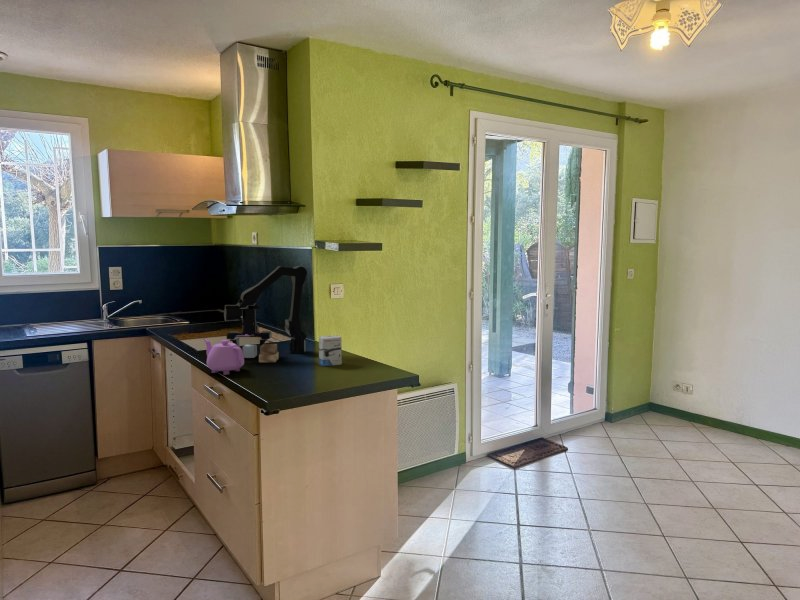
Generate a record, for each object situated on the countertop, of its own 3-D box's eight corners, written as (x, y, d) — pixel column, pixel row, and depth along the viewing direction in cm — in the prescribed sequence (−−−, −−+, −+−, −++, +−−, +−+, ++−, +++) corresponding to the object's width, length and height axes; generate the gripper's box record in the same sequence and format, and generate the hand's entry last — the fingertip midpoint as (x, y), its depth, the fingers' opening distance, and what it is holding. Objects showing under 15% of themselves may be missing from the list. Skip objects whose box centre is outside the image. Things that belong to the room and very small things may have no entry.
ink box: (322, 366, 229) (322, 338, 228) (318, 364, 234) (318, 336, 232) (342, 364, 233) (341, 336, 232) (337, 362, 237) (337, 334, 236)
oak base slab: (278, 359, 244) (278, 351, 243) (275, 363, 237) (275, 354, 236) (262, 359, 244) (262, 351, 243) (258, 363, 237) (258, 354, 236)
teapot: (191, 372, 219) (190, 340, 217) (218, 364, 231) (217, 335, 230) (230, 378, 210) (229, 345, 209) (255, 370, 223) (255, 339, 221)
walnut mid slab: (277, 351, 243) (277, 343, 242) (274, 354, 237) (274, 346, 237) (263, 351, 243) (263, 343, 242) (260, 354, 237) (260, 346, 236)
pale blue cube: (256, 355, 250) (256, 344, 250) (254, 357, 245) (254, 346, 245) (245, 355, 250) (245, 344, 250) (242, 358, 245) (242, 346, 245)
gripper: (273, 316, 254) (274, 350, 256) (232, 316, 254) (233, 350, 255) (268, 320, 243) (269, 355, 245) (225, 320, 242) (226, 355, 244)
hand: (249, 354), depth 248 cm, fingers open, 9 cm apart
